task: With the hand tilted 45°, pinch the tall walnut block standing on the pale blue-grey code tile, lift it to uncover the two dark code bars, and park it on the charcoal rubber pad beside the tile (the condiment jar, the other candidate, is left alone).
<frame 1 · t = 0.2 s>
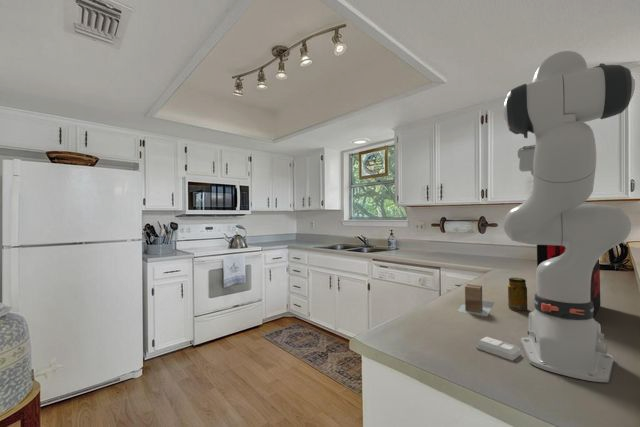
hand: (554, 181, 102), 48 cm above the countertop, tool pointing down, fingers open, 8 cm apart
soap bar: (497, 353, 78), on the countertop
condiment: (520, 311, 110), on the countertop
charcoal pad: (481, 304, 118), on the countertop
product box: (570, 310, 110), on the countertop
walnut block: (474, 309, 110), resting on code tile
code tile: (474, 311, 110), on the countertop
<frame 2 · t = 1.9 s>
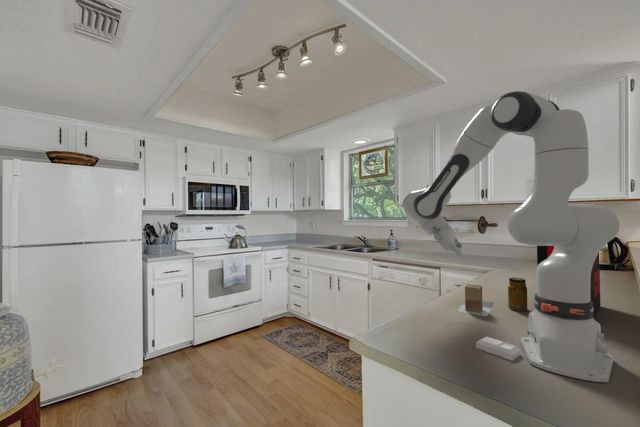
hand: (460, 250, 115), 22 cm above the countertop, tool tilted 40°, fingers open, 8 cm apart
nothing on the countertop moved.
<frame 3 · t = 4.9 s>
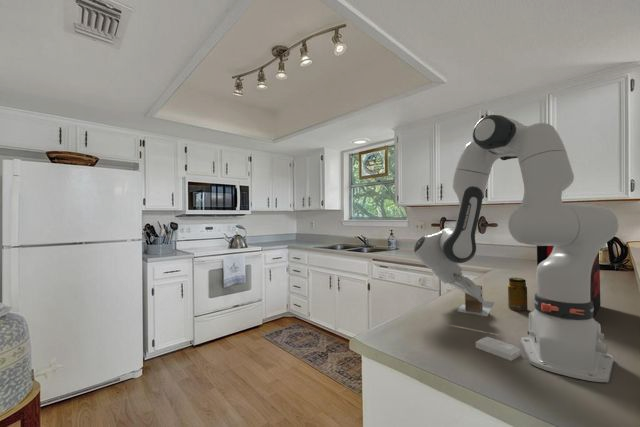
hand: (475, 297, 110), 5 cm above the countertop, tool tilted 45°, fingers closed on walnut block, 7 cm apart
walnut block: (474, 309, 110), resting on code tile, touching gripper
everything else where it was.
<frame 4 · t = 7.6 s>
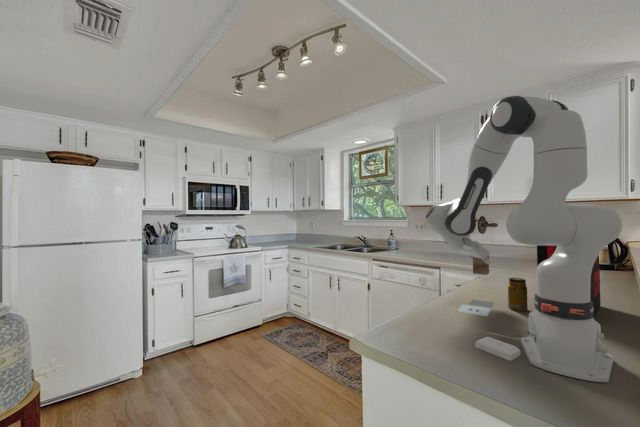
hand: (482, 261, 118), 17 cm above the countertop, tool tilted 45°, fingers closed on walnut block, 7 cm apart
walnut block: (481, 273, 118), point 13 cm above the countertop, touching gripper
everything else where it was.
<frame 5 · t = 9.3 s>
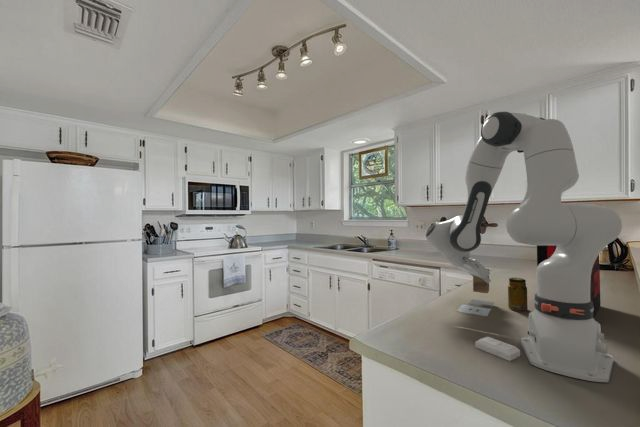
hand: (482, 279, 118), 10 cm above the countertop, tool tilted 45°, fingers closed on walnut block, 7 cm apart
walnut block: (481, 291, 118), point 5 cm above the countertop, touching gripper
everything else where it was.
when the fingers open (7 cm above the countertop, at t = 10.6 s): walnut block drops 1 cm, resting on charcoal pad.
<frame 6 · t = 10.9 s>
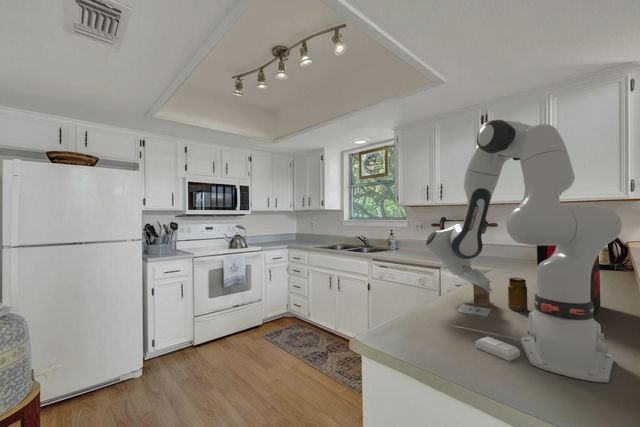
hand: (483, 288, 118), 7 cm above the countertop, tool tilted 45°, fingers open, 8 cm apart
walnut block: (481, 303, 118), resting on charcoal pad
everything else where it was.
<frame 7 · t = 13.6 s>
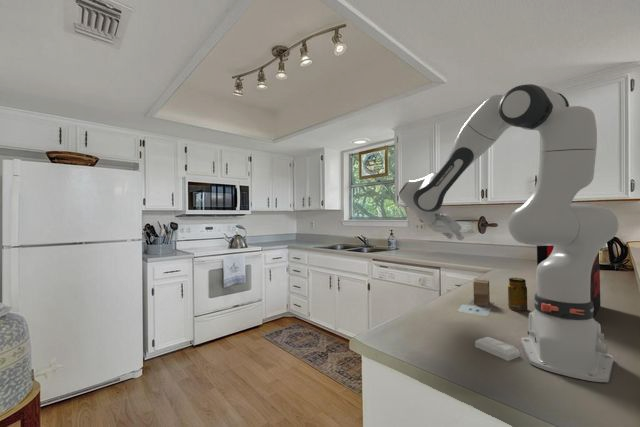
hand: (456, 238, 117), 27 cm above the countertop, tool tilted 45°, fingers open, 8 cm apart
nothing on the countertop moved.
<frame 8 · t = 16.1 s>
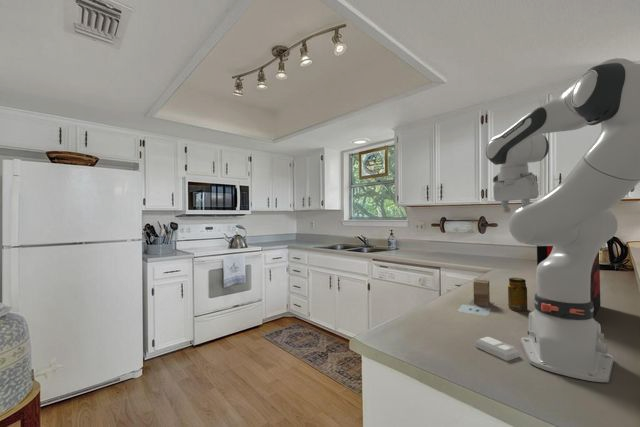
hand: (514, 212, 109), 37 cm above the countertop, tool pointing down, fingers open, 8 cm apart
nothing on the countertop moved.
at the end: walnut block inside the target area on the charcoal pad (0.1 cm from its centre), point 0.4 cm above the charcoal pad's base; walnut block touching charcoal pad; the gripper is holding nothing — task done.
